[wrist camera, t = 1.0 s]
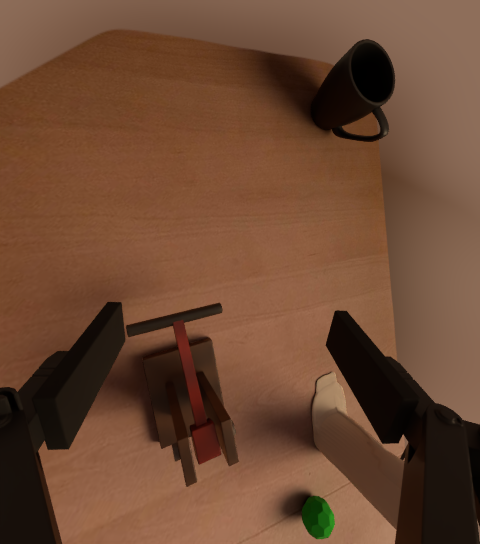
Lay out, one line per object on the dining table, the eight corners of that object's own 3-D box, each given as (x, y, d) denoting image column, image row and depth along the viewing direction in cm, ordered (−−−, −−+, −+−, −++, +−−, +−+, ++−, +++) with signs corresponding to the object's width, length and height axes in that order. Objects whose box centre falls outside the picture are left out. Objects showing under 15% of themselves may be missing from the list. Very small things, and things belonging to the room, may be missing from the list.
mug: (322, 167, 42) (370, 141, 33) (295, 92, 40) (340, 44, 31) (357, 152, 45) (410, 124, 36) (333, 81, 43) (384, 33, 34)
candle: (341, 368, 45) (484, 441, 26) (348, 442, 46) (490, 564, 27) (307, 379, 42) (439, 469, 24) (315, 458, 43) (447, 604, 25)
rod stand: (142, 356, 33) (143, 408, 21) (209, 337, 36) (243, 372, 24) (160, 442, 34) (171, 538, 22) (224, 416, 37) (263, 488, 25)
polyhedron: (319, 514, 44) (339, 542, 39) (295, 523, 42) (313, 553, 38) (321, 485, 44) (341, 510, 39) (297, 492, 42) (315, 519, 38)
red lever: (127, 326, 27) (124, 324, 25) (217, 304, 31) (221, 300, 28) (154, 474, 24) (153, 486, 22) (251, 430, 27) (259, 437, 25)
